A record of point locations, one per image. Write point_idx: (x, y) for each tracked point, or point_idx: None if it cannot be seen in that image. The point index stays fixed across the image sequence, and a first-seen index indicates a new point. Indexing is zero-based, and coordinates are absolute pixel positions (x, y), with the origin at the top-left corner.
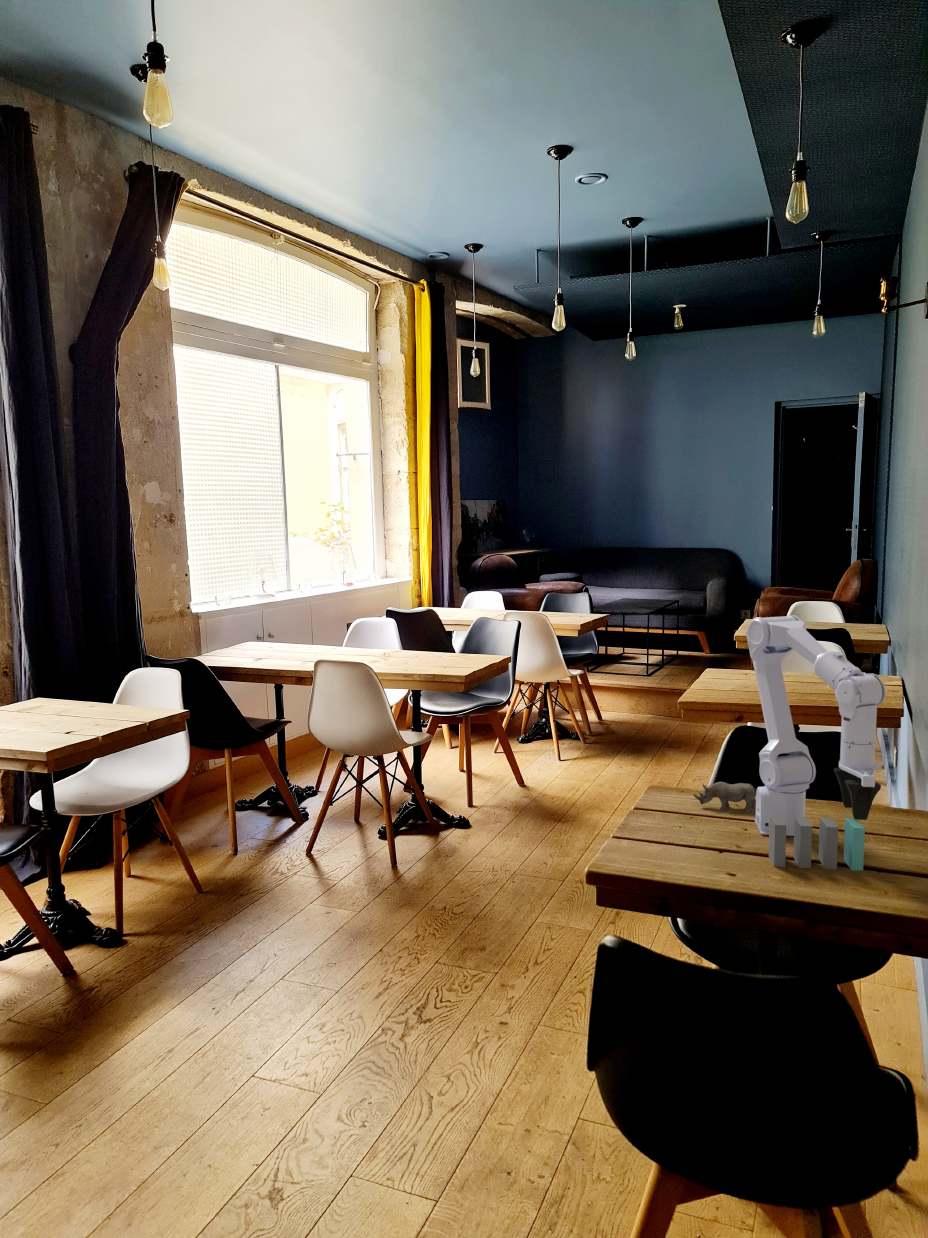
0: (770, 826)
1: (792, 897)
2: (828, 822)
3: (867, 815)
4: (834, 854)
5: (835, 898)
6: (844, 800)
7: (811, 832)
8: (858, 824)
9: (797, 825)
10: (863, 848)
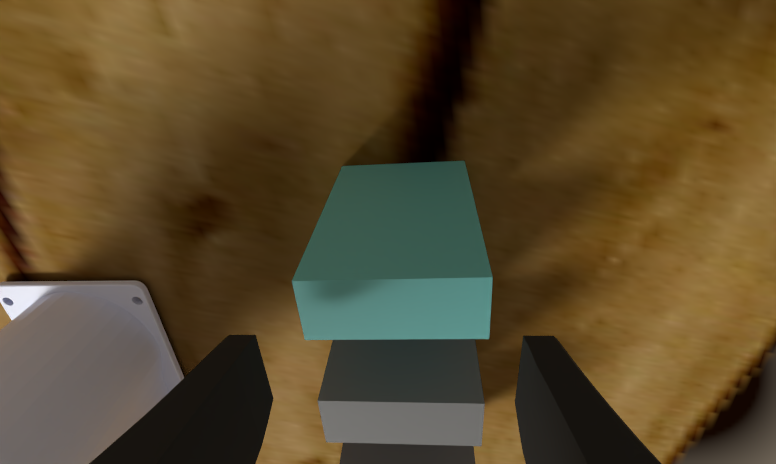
0: None
1: (694, 412)
2: (406, 427)
3: (576, 366)
4: None
5: (727, 312)
6: (252, 457)
7: (474, 461)
8: (413, 296)
9: None
10: (475, 210)
